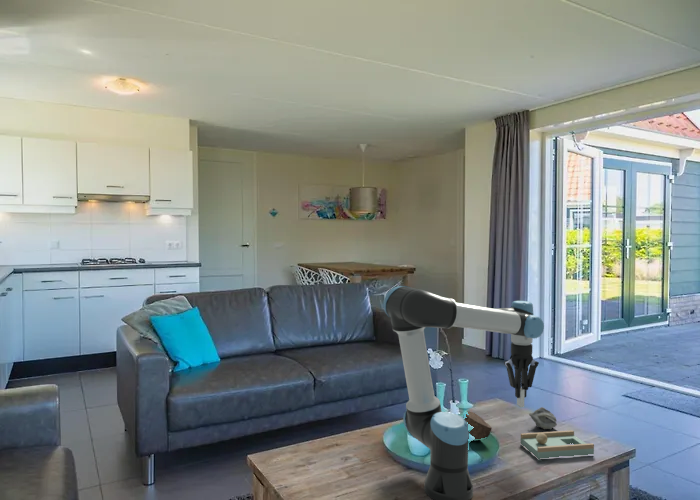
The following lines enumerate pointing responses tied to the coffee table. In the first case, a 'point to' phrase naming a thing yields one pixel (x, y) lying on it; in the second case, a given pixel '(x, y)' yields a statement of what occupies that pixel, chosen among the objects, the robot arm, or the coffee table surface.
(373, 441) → the coffee table surface
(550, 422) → the fossil
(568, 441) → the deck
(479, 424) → the rock
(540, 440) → the ball
